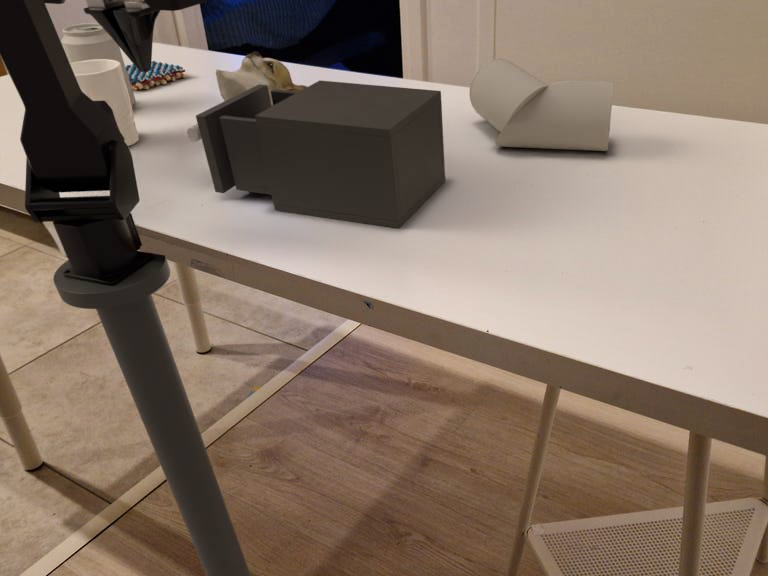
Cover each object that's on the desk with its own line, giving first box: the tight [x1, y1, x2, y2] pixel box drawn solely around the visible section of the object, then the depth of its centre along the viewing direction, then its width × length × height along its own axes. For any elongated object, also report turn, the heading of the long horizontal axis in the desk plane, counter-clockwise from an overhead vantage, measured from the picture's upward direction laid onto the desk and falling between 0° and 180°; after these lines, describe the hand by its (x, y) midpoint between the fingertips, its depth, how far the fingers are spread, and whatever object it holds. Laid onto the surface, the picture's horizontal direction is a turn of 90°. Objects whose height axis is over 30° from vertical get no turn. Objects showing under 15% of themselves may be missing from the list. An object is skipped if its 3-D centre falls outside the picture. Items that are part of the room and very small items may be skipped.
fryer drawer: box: [186, 84, 297, 196], centre depth 84 cm, size 19×12×9 cm, turn 71°
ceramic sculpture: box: [215, 50, 308, 107], centre depth 108 cm, size 11×9×15 cm
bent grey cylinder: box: [469, 58, 615, 152], centre depth 96 cm, size 18×11×20 cm
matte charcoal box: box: [255, 80, 446, 229], centre depth 81 cm, size 16×14×11 cm
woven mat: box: [125, 60, 187, 91], centre depth 123 cm, size 10×11×2 cm
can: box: [60, 22, 137, 107], centre depth 108 cm, size 8×8×12 cm
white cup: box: [70, 59, 140, 147], centre depth 97 cm, size 8×8×10 cm
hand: (145, 71), depth 84 cm, fingers closed
